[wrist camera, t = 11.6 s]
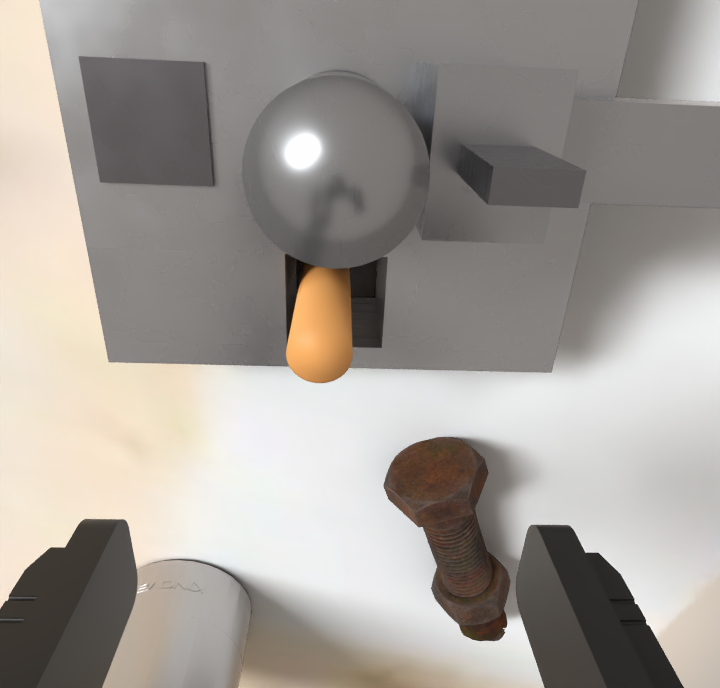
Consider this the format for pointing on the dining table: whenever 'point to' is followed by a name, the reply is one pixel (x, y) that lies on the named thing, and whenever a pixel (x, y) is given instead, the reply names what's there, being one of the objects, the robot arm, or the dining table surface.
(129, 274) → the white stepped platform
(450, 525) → the bolt
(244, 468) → the dining table surface
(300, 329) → the rounded pin
